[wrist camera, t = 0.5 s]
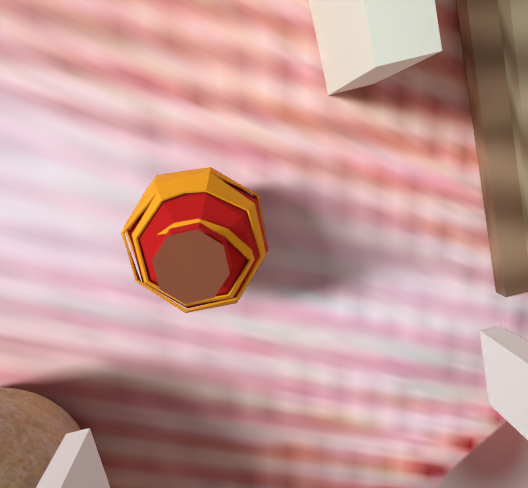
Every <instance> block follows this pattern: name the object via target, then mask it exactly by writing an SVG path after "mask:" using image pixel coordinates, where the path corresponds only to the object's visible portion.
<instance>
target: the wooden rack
mask: <svg viewBox="0 0 528 488" xmlns="http://www.w3.org/2000/svg"><path fill="white" fill-rule="evenodd" d="M456 3H457V11H458V18H459V25H460V33H461V40H462V47H463V54H464V62H465V69H466V76H467V84H468V91H469V98H470V105H471V113H472V120H473V127H474V135H475V142H476V149H477V156H478V164H479V171H480V178H481V185H482V193H483V200H484V207H485V215H486V222H487V229H488V236H489V244H490V251H491V258H492V266H493V273H494V280H495V287H496V292H497V293H499V294H501V295H503V296H505V297H508V296H512V295H516V294H519V293H523V292H527V291H528V0H456Z"/></svg>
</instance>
